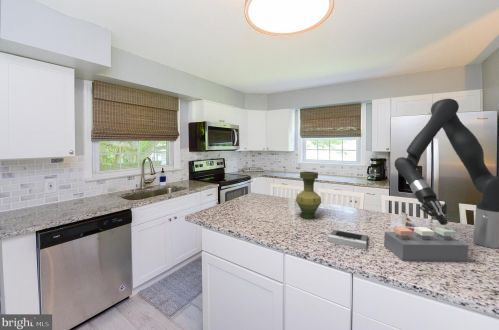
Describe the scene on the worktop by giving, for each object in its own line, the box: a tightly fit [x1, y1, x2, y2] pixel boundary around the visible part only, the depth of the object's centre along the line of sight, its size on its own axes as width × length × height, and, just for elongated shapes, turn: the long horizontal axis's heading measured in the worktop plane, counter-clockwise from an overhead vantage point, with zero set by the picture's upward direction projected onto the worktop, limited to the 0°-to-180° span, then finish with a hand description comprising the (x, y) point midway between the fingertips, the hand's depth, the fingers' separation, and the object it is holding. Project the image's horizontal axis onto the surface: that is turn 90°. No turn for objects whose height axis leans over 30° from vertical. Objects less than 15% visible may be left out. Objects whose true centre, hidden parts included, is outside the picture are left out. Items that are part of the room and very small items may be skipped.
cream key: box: [414, 226, 435, 240], centre depth 101 cm, size 5×5×6 cm
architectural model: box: [401, 212, 414, 227], centre depth 136 cm, size 3×7×7 cm, turn 166°
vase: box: [295, 171, 322, 221], centre depth 151 cm, size 16×16×30 cm
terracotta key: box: [393, 226, 413, 240], centre depth 101 cm, size 5×5×6 cm
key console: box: [383, 231, 469, 263], centre depth 101 cm, size 26×14×7 cm, turn 88°
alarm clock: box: [327, 228, 369, 250], centre depth 117 cm, size 17×5×16 cm
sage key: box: [434, 226, 457, 240], centre depth 101 cm, size 5×5×6 cm
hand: (444, 224), depth 100 cm, fingers closed
